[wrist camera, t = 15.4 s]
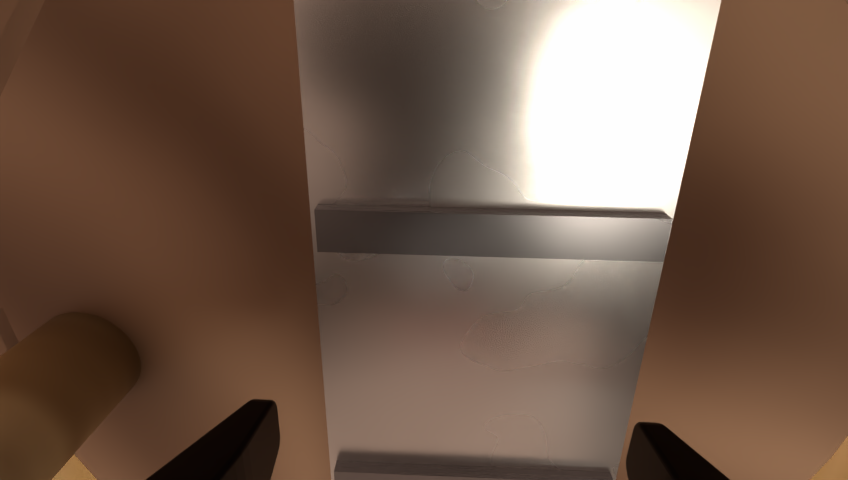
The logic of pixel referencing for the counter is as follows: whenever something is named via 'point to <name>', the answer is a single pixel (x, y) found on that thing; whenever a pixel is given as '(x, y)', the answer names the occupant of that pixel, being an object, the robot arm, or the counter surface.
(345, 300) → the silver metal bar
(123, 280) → the flat round disc
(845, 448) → the counter surface
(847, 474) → the counter surface
